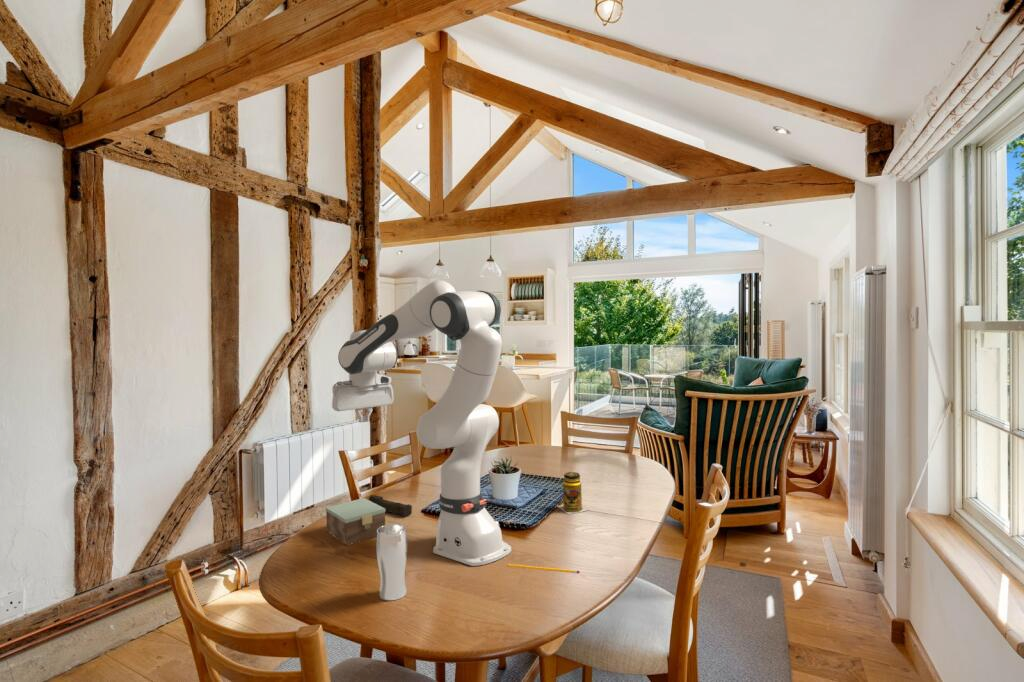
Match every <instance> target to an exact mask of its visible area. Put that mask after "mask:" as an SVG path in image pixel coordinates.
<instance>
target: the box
mask: <svg viewBox="0 0 1024 682" xmlns="http://www.w3.org/2000/svg"><path fill="white" fill-rule="evenodd" d="M325 512H326V532H327V531H328V532H330V533H331V534H332V535H334V536H335V537H336V538H338V539H339V540H340V541H339V540H338V539H337V540H338V541H339V542H341V541H342V542H343V543H342V542H341V543H342V544H344V543H345V544H346V545H345V544H344V545H345V546H347V545H348V546H350V545H349V544H351V543H355V542H358V543H360V542H359V541H361V542H363V541H362V540H364V541H367V540H370V539H373V538H372V537H374V538H376V537H375V536H377V529H378V528H380V527H381V526H384V525H386V511H385V512H384V513H380V514H377V515H373V516H372V523H369V524H366V525H362V519H359V520H356V521H352V522H349V523H345V522H343V521H341V520H340V519H338V518H337V517H335V516H333V515H332V514H330V513H329V512H327V511H326V510H325ZM332 535H331V536H332ZM335 537H334V538H335ZM336 538H335V539H336ZM369 538H370V539H369ZM366 539H367V540H366ZM355 544H356V543H355ZM351 545H352V544H351Z"/></svg>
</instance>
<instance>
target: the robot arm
mask: <svg viewBox="0 0 1024 682" xmlns="http://www.w3.org/2000/svg"><path fill="white" fill-rule="evenodd" d="M501 311H502V309H501V303H500V301H499V299H498V297H497V296H496V295H495V294H493V293H491V292H488V291H486V290H459V291H458V290H457V291H456V289H455V288H454V286H453V285H452V284H451V283H449V282H448V281H446V280H442V279H441V280H440V279H439V280H434V281H432V282H430V283H429V284H426V286H423V287H422V288H421V289H420V290H418V292H416V293H415V294H414V295H413V296H412V297H410V299H409V300H408V301H406V302H405V303H404V304H402V305H401V306H400V307H398V308H397V309H395V310H394V311H393V312H391V313H389V314H387V315H386V316H384V317H382V318H380V319H379V320H378V321H377V322H376V323H374V324H372V325H371V326H370V327H369V328H368V329H359V330H354V331H352V332H351V334H350V337H349V340H347V341H346V342H344V344H342V346H341V348H340V349H339V352H338V356H337V357H338V363H339V365H340V367H341V368H342V369H343V370H344V371H345V372H346V373H348V376H349V377H348V379H349V380H345V381H336V383H335V384H333V386H332V401H331V408H332V409H333V410H334V411H335V412H345V411H352V410H353V411H354V410H355V411H354V412H355V414H356V415H357V416H358V422H359V423H364V422H365V423H367V422H370V416H371V414H372V412H373V409H374V408H375V407H376V408H377V407H385V406H392V405H393V403H394V400H395V399H394V396H395V395H394V389H393V386H392V384H391V383H392V377H390V376H388V375H383V374H380V373H378V372H383V371H387V370H390V369H391V370H392V369H393V368H394V367H396V364H397V362H398V358H399V353H398V348H397V346H396V344H394V342H393V341H398V340H405V339H407V340H408V339H413V338H414V339H415V338H422V337H423V336H426V335H429V334H430V333H432V332H434V331H435V330H436V329H437V330H438V331H439V332H440V333H442V334H444V335H446V336H447V337H448V338H449V339H450V340H451V341H459V342H460V349H459V353H458V356H457V359H456V360H457V361H456V362H455V363H456V364H455V367H454V369H453V374H452V376H451V379H450V381H449V385H448V386H447V388H446V389H445V391H444V393H443V394H442V395H441V397H440V398H439V399H438V401H437V402H436V403H435V404H434V405H433V406H432V407H431V408H429V410H427V411H426V412H424V413H423V414H421V415H420V417H419V418H418V420H417V425H416V437H417V439H418V440H419V442H420V443H421V445H422V446H424V447H425V448H426V449H432V450H433V449H434V450H435V449H436V450H437V449H439V450H444V449H448V448H453V450H452V452H451V454H450V456H448V458H447V459H446V460H445V461H444V462H443V463H442V465H441V468H440V494H439V500H438V501H439V502H438V503H439V508H440V513H439V517H438V519H437V524H436V525H437V526H436V538H435V539H436V541H435V544H434V545H435V546H433V548H432V549H433V550H432V553H433V554H436V555H439V556H441V557H444V558H447V559H450V560H453V561H455V562H460V563H462V564H465V565H468V566H472V567H477V566H483V565H486V564H490V563H493V562H495V561H499V560H500V559H503V558H504V557H506V556H508V555H509V554H510V553H511V552H512V546H511V545H509V544H508V543H507V542H505V541H504V540H503V535H502V534H503V533H502V529H501V527H500V524H499V521H498V520H495V519H494V518H493V517H492V515H491V514H490V512H489V511H488V510H487V509H486V504H487V503H488V502H487V499H486V498H484V496H483V493H482V492H481V467H482V460H483V458H484V454H485V451H486V448H487V446H488V444H489V443H490V441H491V440H492V438H493V437H494V436H495V435H496V433H497V432H498V429H499V427H500V418H499V415H498V413H497V410H496V409H495V408H494V407H493V406H492V405H489V404H485V403H484V401H486V400H487V398H489V396H490V394H491V390H492V387H493V383H494V381H495V378H496V375H497V372H498V368H499V364H500V359H501V354H502V348H503V347H502V345H503V340H502V336H501V334H500V333H499V331H497V330H496V329H494V328H492V326H493V325H495V324H496V323H497V322H498V320H499V319H500V316H501ZM483 403H484V404H483ZM363 409H365V411H366V412H365V414H364V415H363V414H362V413H363Z"/></svg>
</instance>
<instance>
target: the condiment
mask: <svg viewBox="0 0 1024 682" xmlns="http://www.w3.org/2000/svg"><path fill="white" fill-rule="evenodd" d="M563 480H564V481H563V482H562V491H563V492H562V495H563V496H562V499H563V504H560V505H556V507H558V508H559V509H560V510H562V511H563V512H564V513H566V514H569V515H571V514H576V513H577V514H578V513H582V512H585V511H588V509H587V508H584V507H583V504H582V501H583V500H582V498H583V497H582V482H581V475H580V473H579V472H575V471H574V472H573V471H570V472H565V473H564V474H563Z"/></svg>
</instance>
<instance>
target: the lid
mask: <svg viewBox="0 0 1024 682" xmlns="http://www.w3.org/2000/svg"><path fill="white" fill-rule="evenodd" d="M326 511H327V512H329V513H330V514H332V515H333V516H335V517H337V518H338V519H340V520H341V521H343V522H345V523H349V522H352V521H356V520H359V519H362V525H366V524H369V523H372V516H373V515H377V514H380V513H384V512H385V513H386V511H385V508H383V507H381V506H379V505H377V504H375V503H373V502H371V501H369V499H367V498H365V497H360V498H358V499H357V498H356V499H355V500H354V499H353V500H350V501H346V502H342V503H338V504H335V505H330V506H327V507H325V512H326ZM327 512H326V513H327Z"/></svg>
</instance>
